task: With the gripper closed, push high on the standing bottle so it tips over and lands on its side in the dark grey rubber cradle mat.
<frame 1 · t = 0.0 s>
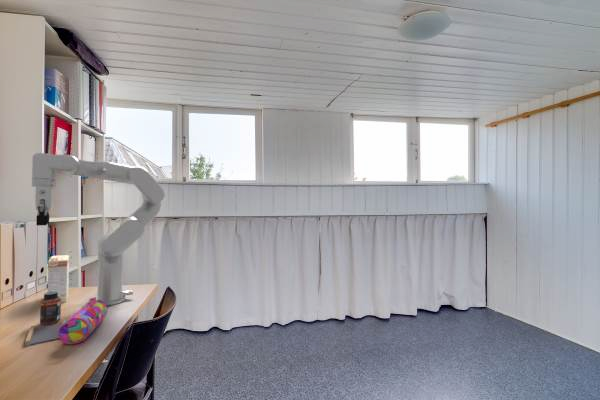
hand: (43, 224, 118), 37 cm above the table, tool pointing down, fingers open, 9 cm apart
pencil case: (84, 332, 102), on the table
supplement bottle: (50, 322, 109), on the table
coffeecake box: (58, 299, 135), on the table
cradle mat: (47, 333, 100), on the table
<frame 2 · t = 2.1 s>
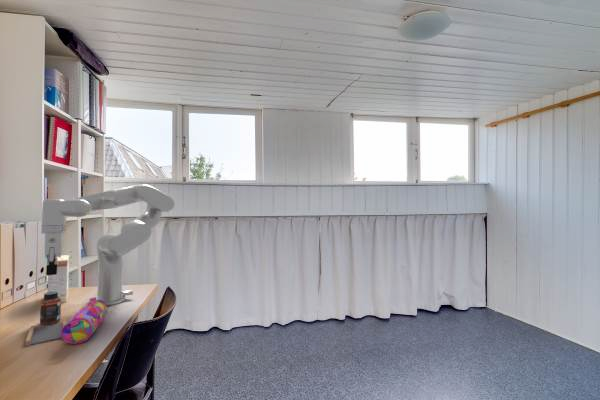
hand: (51, 274, 115), 17 cm above the table, tool pointing down, fingers closed
nothing on the table moved.
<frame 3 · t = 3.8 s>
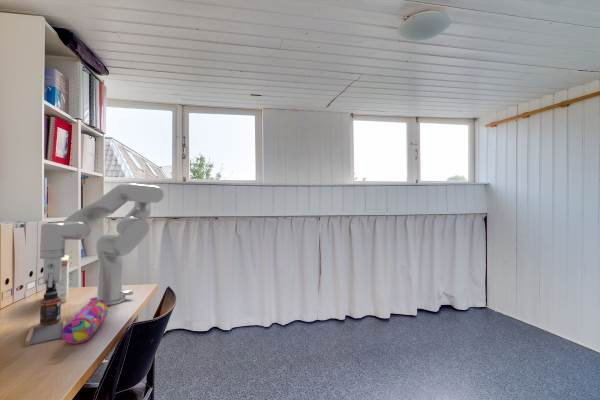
hand: (50, 300, 113), 7 cm above the table, tool pointing down, fingers closed
supplement bottle: (50, 322, 109), on the table, touching gripper
everything else where it was.
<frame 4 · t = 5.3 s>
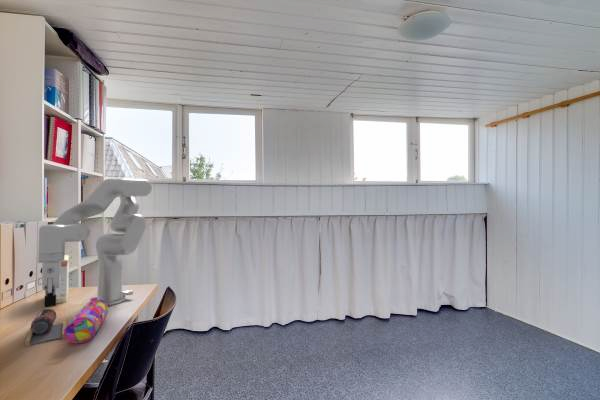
hand: (50, 306, 107), 7 cm above the table, tool pointing down, fingers closed
supplement bottle: (46, 316, 107), point 3 cm above the table, touching cradle mat
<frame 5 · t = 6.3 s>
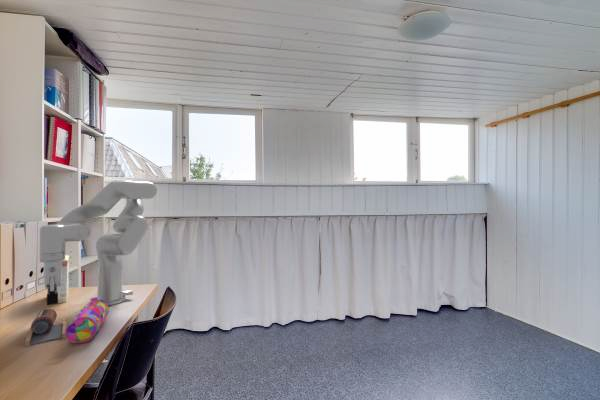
hand: (52, 303, 110), 7 cm above the table, tool pointing down, fingers closed
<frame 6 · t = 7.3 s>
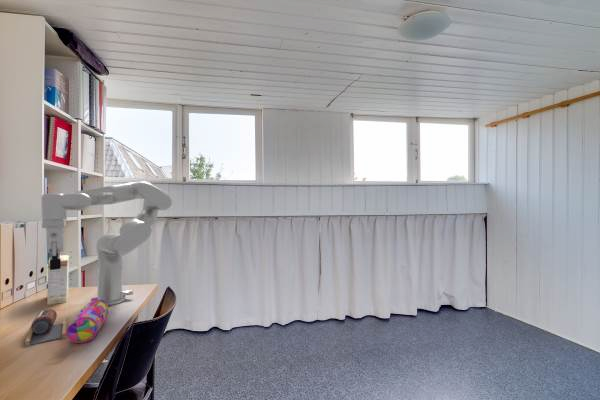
hand: (55, 268, 115), 19 cm above the table, tool pointing down, fingers closed
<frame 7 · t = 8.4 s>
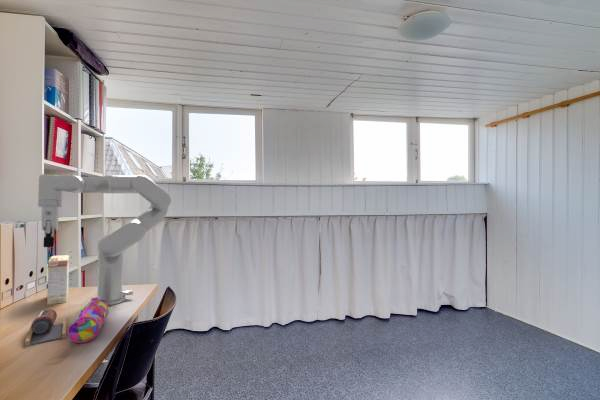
hand: (48, 246, 121), 27 cm above the table, tool pointing down, fingers closed
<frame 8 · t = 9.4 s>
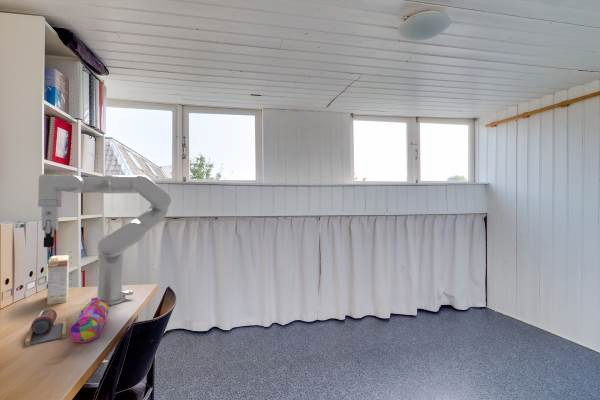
hand: (48, 246, 121), 27 cm above the table, tool pointing down, fingers closed
at the end: supplement bottle tilted 91°; supplement bottle inside the target area (5.5 cm from its centre), point 3.4 cm above the table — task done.
